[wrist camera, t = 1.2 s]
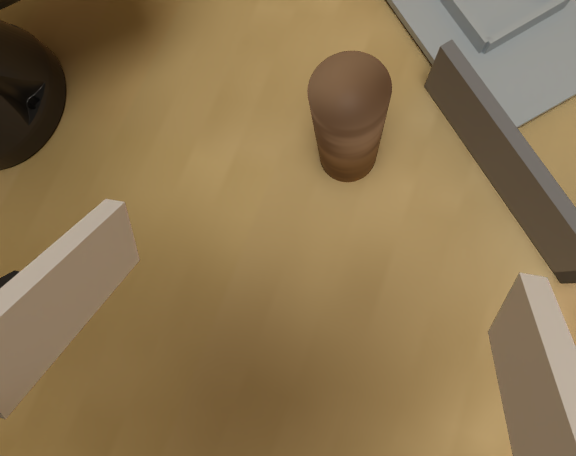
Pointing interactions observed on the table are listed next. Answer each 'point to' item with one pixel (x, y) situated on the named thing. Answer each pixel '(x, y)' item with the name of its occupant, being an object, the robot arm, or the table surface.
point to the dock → (506, 159)
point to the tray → (504, 46)
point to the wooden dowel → (349, 112)
